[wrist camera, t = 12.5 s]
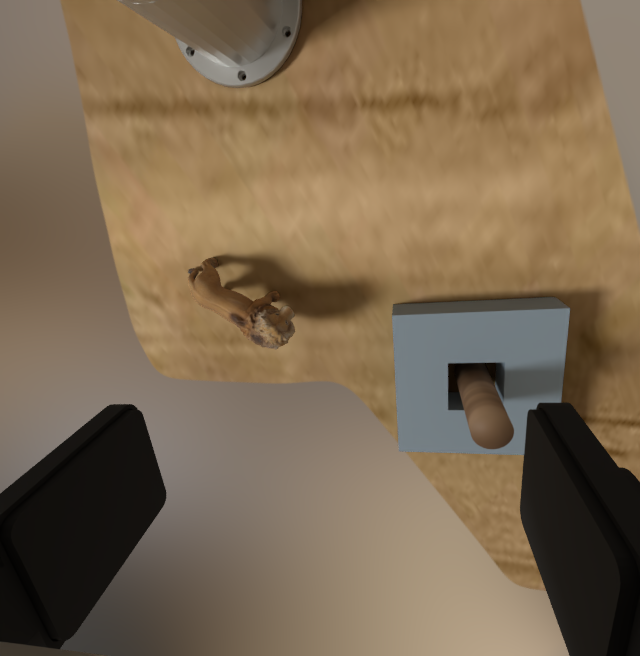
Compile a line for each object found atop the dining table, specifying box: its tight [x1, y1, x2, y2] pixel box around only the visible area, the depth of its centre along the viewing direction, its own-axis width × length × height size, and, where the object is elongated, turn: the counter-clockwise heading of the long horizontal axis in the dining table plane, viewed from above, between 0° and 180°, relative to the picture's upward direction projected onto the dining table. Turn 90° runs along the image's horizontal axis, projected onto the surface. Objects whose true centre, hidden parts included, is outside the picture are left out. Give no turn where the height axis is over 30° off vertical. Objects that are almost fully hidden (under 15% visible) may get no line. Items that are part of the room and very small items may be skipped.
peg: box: [454, 363, 514, 449], centre depth 39 cm, size 3×3×12 cm
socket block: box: [392, 297, 570, 455], centre depth 43 cm, size 16×16×4 cm
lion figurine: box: [188, 258, 295, 349], centre depth 43 cm, size 15×5×9 cm, turn 72°
